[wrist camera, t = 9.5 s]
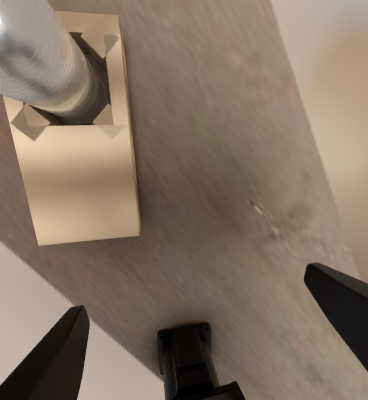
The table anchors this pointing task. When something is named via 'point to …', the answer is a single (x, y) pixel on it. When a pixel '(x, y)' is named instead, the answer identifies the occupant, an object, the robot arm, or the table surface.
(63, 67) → the translucent cylinder
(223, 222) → the table surface
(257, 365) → the table surface
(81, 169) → the jig
